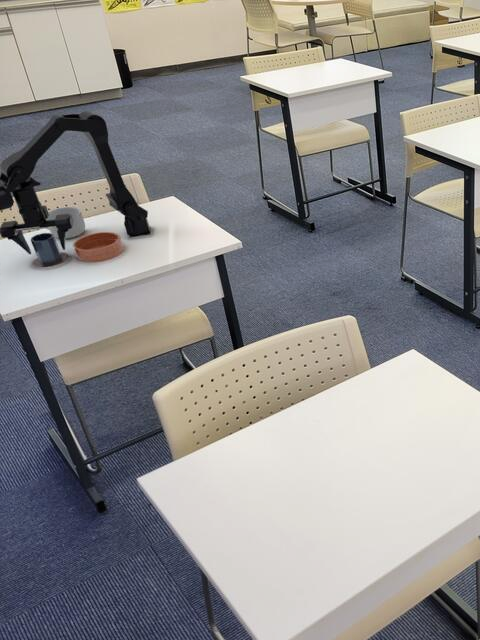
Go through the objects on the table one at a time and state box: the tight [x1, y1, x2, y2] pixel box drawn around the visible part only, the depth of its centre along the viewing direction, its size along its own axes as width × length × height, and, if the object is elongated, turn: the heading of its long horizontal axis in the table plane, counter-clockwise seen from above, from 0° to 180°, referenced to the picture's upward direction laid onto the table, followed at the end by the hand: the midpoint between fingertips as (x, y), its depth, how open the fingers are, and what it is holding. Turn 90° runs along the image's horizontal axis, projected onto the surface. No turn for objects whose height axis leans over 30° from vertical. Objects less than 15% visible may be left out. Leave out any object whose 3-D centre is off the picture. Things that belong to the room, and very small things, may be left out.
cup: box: [30, 232, 62, 264], centre depth 210 cm, size 6×6×8 cm
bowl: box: [72, 231, 125, 263], centre depth 216 cm, size 13×13×4 cm
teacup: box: [44, 206, 86, 240], centre depth 226 cm, size 14×11×8 cm
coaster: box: [32, 252, 70, 268], centre depth 213 cm, size 10×10×1 cm
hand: (47, 251), depth 211 cm, fingers open, 9 cm apart
